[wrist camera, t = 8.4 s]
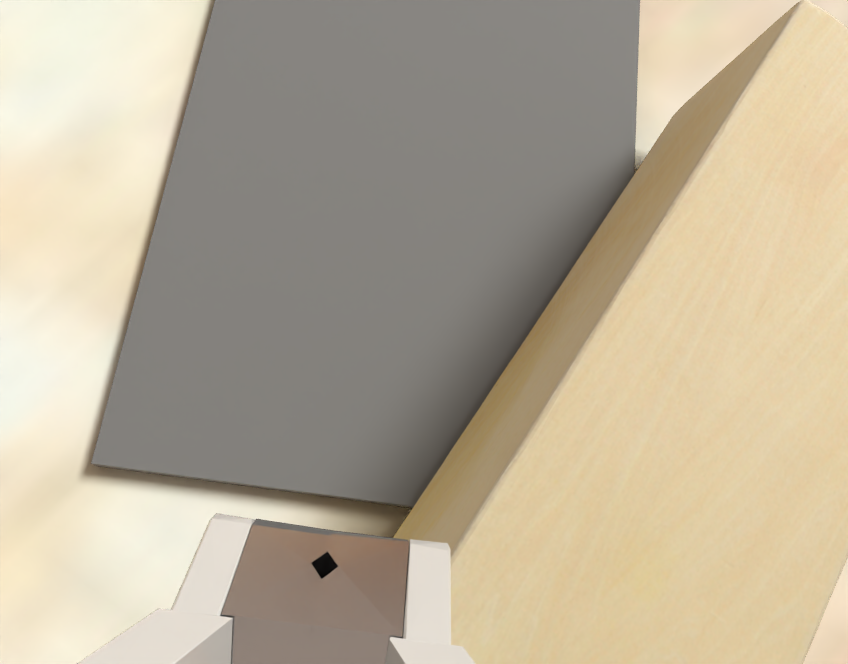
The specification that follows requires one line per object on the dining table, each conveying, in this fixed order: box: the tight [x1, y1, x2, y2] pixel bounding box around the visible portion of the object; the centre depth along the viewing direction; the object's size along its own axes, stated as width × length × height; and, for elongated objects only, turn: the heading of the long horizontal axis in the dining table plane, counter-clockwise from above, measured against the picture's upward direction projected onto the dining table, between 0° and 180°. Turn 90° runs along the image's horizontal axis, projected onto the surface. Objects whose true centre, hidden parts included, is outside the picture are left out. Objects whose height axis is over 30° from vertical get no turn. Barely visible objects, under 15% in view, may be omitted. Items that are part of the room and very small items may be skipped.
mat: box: [91, 0, 640, 508], centre depth 28 cm, size 28×16×1 cm, turn 173°
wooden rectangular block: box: [393, 0, 848, 664], centre depth 21 cm, size 8×7×21 cm
